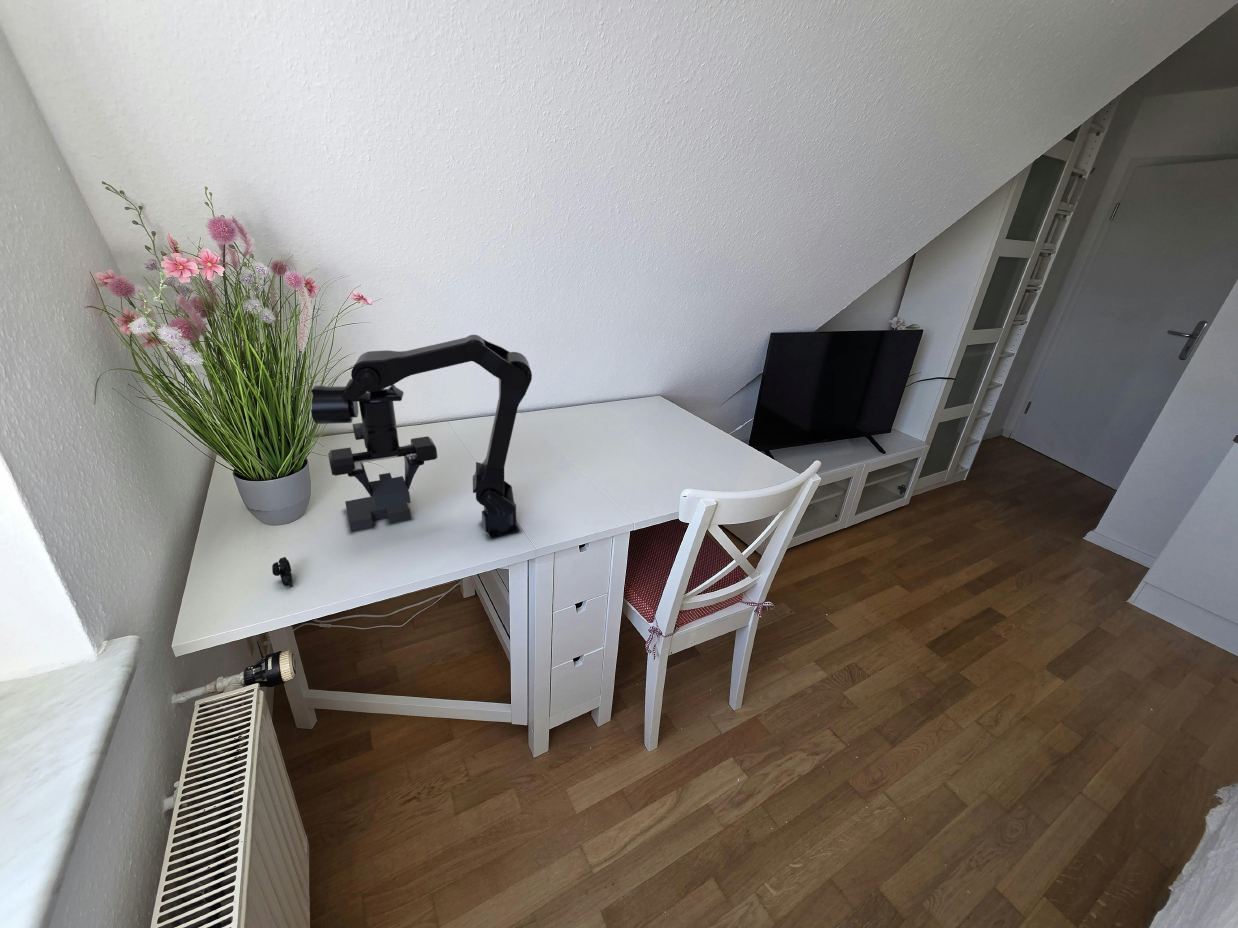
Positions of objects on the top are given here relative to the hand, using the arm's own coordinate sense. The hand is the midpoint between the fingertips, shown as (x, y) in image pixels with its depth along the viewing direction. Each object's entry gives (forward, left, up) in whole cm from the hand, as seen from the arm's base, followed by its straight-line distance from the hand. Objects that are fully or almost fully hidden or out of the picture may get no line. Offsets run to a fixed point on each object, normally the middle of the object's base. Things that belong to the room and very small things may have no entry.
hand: (389, 492), depth 103 cm
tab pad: (0, -1, -1) cm, 2 cm away
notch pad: (+2, -10, -11) cm, 15 cm away
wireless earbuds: (+20, +7, -11) cm, 24 cm away
